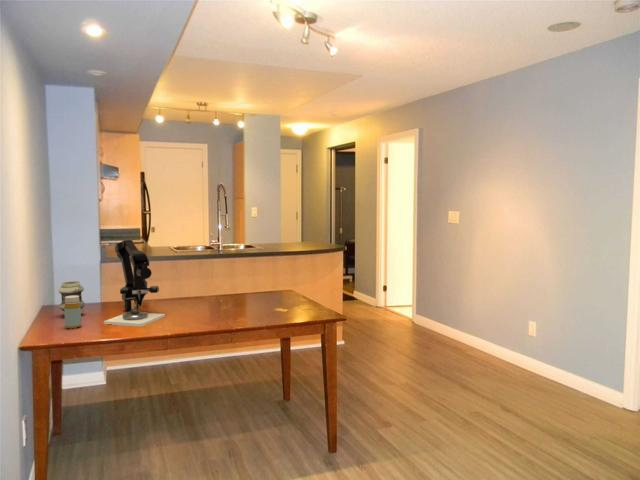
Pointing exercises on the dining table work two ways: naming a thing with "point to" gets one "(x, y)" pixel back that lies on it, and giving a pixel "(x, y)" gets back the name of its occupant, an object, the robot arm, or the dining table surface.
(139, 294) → the robot arm
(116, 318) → the white square plate
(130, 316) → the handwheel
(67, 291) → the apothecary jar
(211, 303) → the dining table surface
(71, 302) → the bottle
